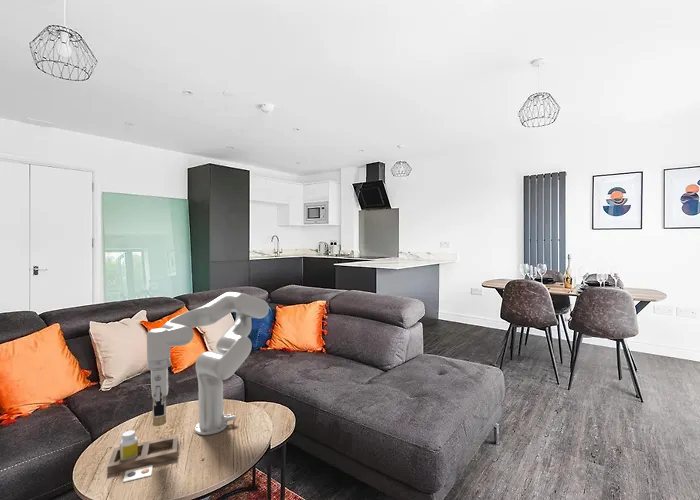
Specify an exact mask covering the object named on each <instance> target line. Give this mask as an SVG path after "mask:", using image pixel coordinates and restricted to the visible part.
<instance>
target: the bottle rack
mask: <svg viewBox="0 0 700 500" xmlns="http://www.w3.org/2000/svg"><path fill="white" fill-rule="evenodd" d="M171 446H172V449H169V450H165V451H161V452H156V453H152V454H150V451H151V450H152V451H153V450H157V449H162V448H168V447H171ZM178 446H179V435H173V436H169V437H164V438H159V439H153V440H148V441H143V442H139V443H138V454H139V453H141V454H140V456H138V457H137V458H132V459H128V460H123V461H120V460H119V461H118V458H120V446H118V447H114V448H113V450H112V452H111V455H110V459H109V461H108V464H107V466H106V472H107V473H106V474H107V475H111V474H114V473H118V472H119V473H120V472H124V471H128V470H132V469H136V468H141V467H145V466H150V465H155V464H159V463H164V462H168V461H173V460H176V459H178V449H179V448H178Z"/></svg>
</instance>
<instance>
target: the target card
mask: <svg viewBox="0 0 700 500" xmlns="http://www.w3.org/2000/svg"><path fill="white" fill-rule="evenodd" d="M153 466H154V464H151V465H146V466H142V467H138V468H133V469H129V470H125V473H124V476H123V477H124V478H123V481H122V483H127V482H131V481H134V480H139V479H143V478H147V477H151V476H152V473H153Z"/></svg>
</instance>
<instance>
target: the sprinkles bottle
mask: <svg viewBox="0 0 700 500" xmlns="http://www.w3.org/2000/svg"><path fill="white" fill-rule="evenodd" d="M160 390H161V388H160ZM161 395H162V394H160V396H161ZM160 399H161V398H160ZM163 404H164V415H161V416H156V417H155V416H154V398H153V397H152V426H154V427H162V426H163V425H166V423H167V396H163Z"/></svg>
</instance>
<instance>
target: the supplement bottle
mask: <svg viewBox="0 0 700 500" xmlns="http://www.w3.org/2000/svg"><path fill="white" fill-rule="evenodd" d="M138 442H139V441H138V437H137V436H136V431H135V430H131V429H130V430H128V431H127V430H126V431H125V432H123V433H122V435H121V441H120V442H119V447H120V457H119V461H123V460H128V459H132V458H137V457H139V453H138Z"/></svg>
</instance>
